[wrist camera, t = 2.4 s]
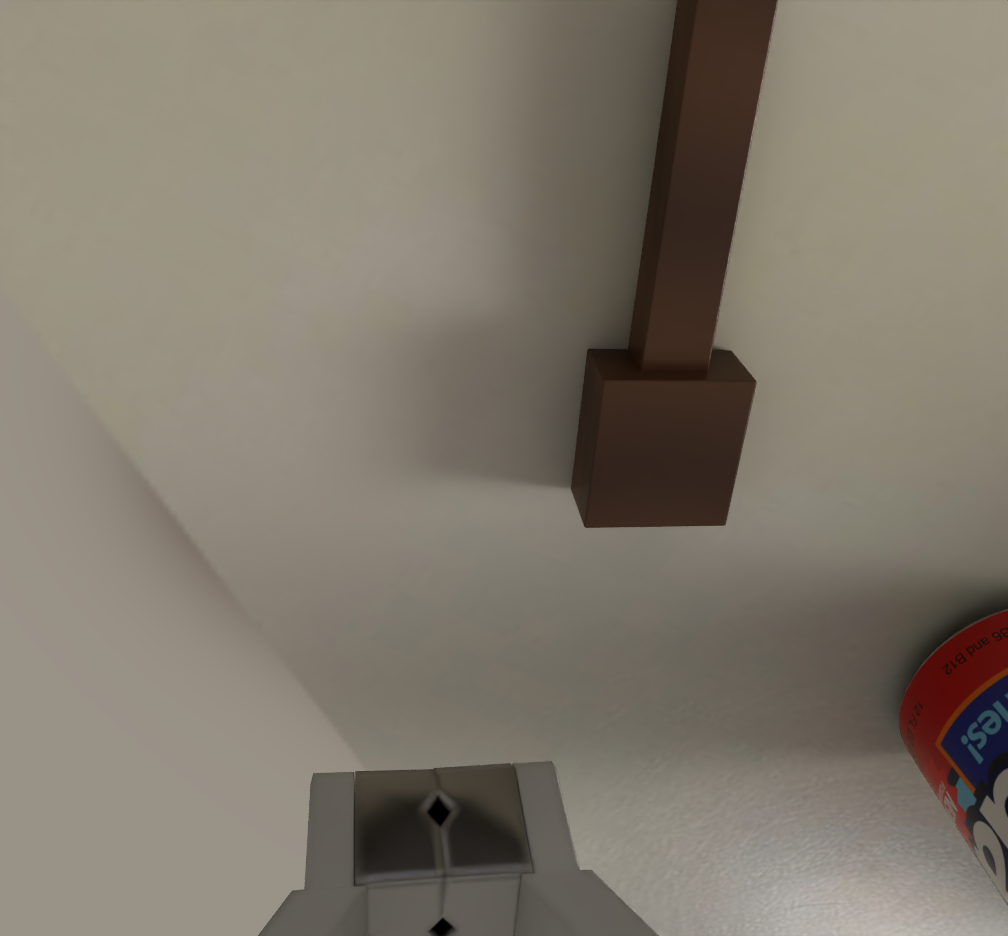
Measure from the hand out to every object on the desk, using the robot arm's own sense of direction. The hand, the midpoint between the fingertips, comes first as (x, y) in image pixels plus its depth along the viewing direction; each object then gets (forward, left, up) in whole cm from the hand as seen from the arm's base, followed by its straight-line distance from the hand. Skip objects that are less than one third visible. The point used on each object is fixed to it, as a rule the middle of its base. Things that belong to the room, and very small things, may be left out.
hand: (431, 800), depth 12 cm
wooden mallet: (-2, +7, -15) cm, 16 cm away
